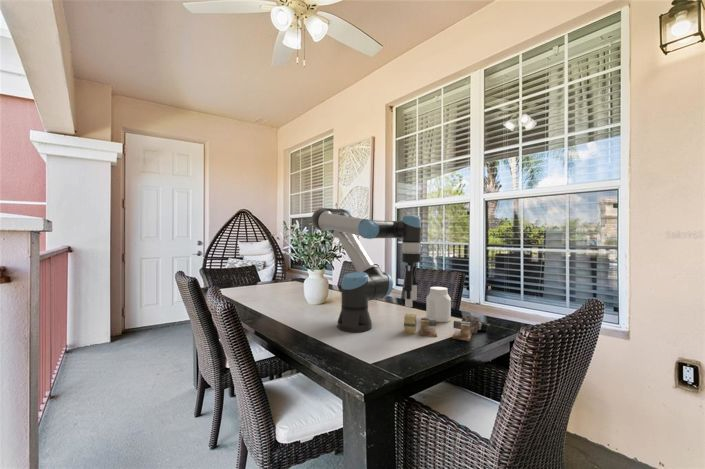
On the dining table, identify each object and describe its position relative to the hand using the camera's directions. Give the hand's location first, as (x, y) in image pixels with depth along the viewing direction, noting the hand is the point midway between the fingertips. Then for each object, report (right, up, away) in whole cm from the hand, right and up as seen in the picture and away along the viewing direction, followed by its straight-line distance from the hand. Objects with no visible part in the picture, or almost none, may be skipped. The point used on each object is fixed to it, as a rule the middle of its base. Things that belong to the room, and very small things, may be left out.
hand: (411, 303), depth 137 cm
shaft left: (+7, -12, -1) cm, 14 cm away
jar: (+17, -12, +20) cm, 29 cm away
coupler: (0, -12, 0) cm, 12 cm away
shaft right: (+20, -12, -5) cm, 24 cm away
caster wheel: (+28, -13, +4) cm, 31 cm away
